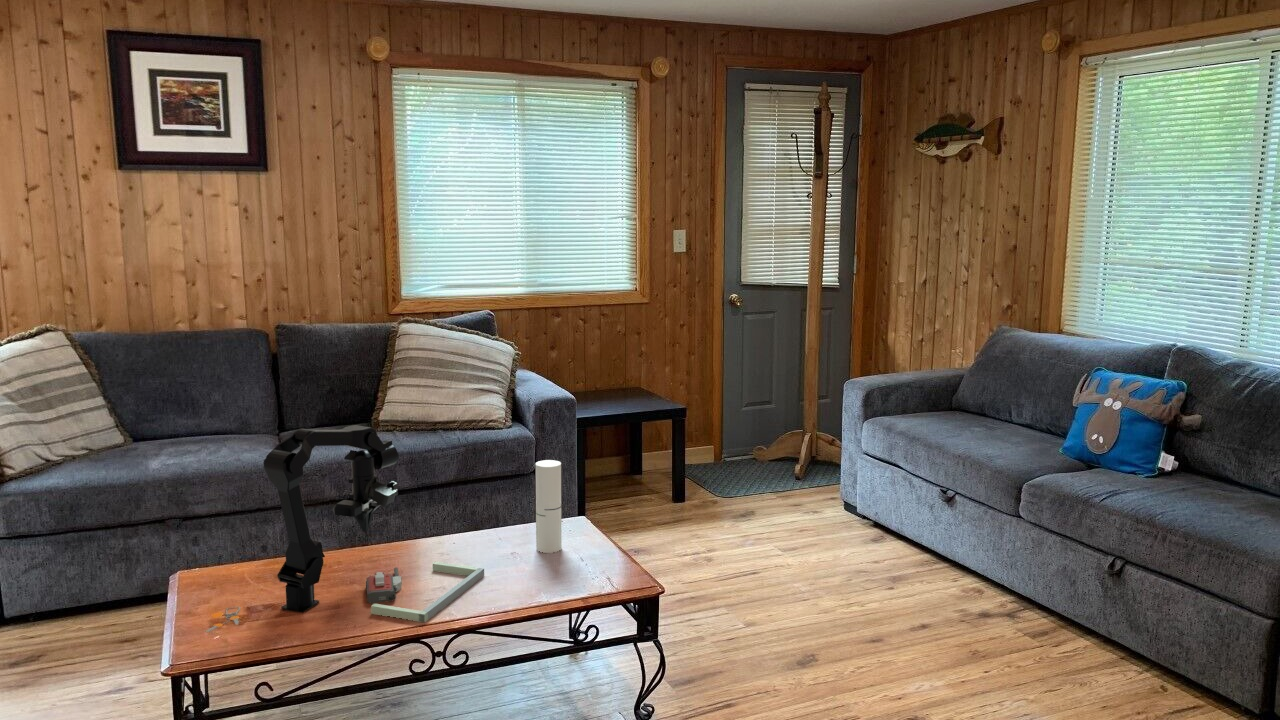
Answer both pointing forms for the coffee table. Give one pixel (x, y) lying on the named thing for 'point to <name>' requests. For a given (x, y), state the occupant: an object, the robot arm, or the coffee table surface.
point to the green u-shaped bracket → (430, 611)
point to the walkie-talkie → (383, 587)
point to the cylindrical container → (548, 506)
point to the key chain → (230, 616)
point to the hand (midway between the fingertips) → (365, 531)
